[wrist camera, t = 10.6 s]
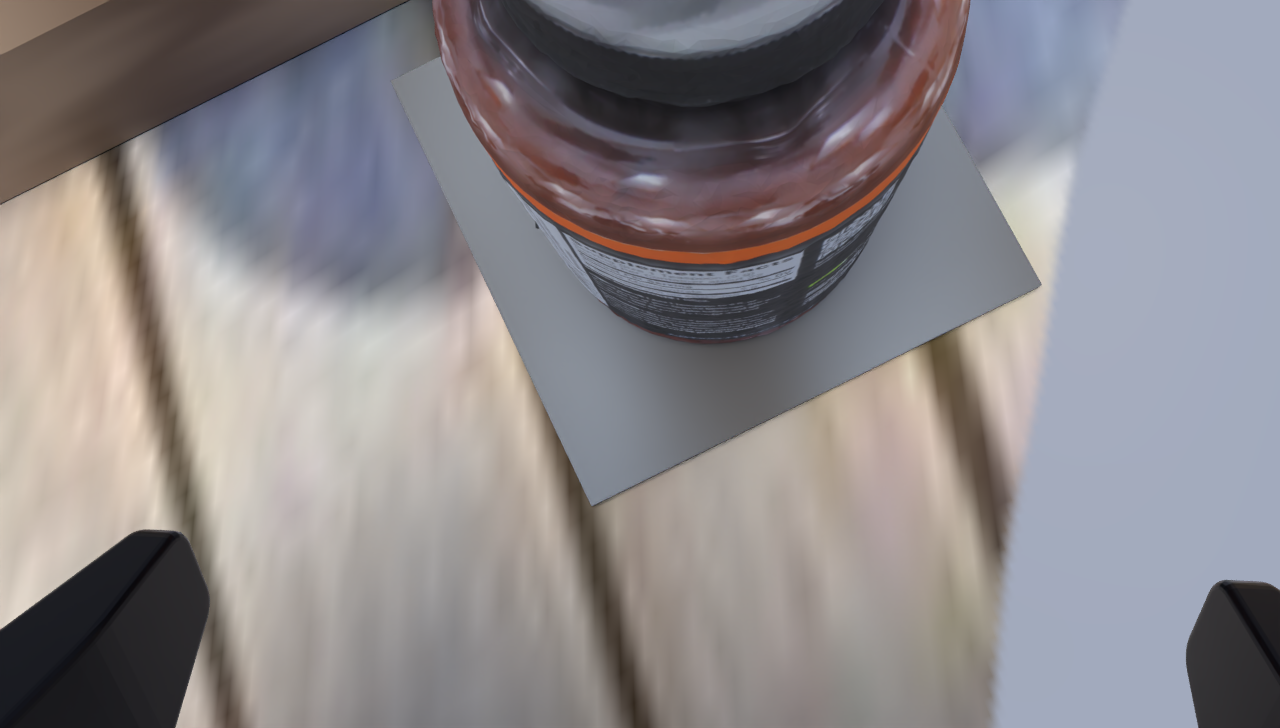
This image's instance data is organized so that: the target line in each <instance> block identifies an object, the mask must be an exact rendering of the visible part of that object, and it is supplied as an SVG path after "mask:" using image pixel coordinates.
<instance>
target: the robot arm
mask: <svg viewBox="0 0 1280 728" xmlns="http://www.w3.org/2000/svg"><path fill="white" fill-rule="evenodd" d="M209 607H210V597H209V591H208V587H207V585H206V582H205V580H204V577H203V575H202V572H201V570H200V567H199V565H198V562H197V560H196V557H195V555H194V552H193V550H192V547H191V545H190V542H189V540H188V539H187V537H186V536H184V535H183V534H182V533H181V532H178V531H167V530H139V531H136V532H133V533H131V534H130V535H128V536H127V537H125V538H124V539H123V540H121V541H120V542H118V543H117V544H116V545H114V546H113V547H112V548H110V549H109V550H108V551H106V552H105V553H104V554H102V555H101V556H100V557H98V558H97V559H95V560H94V561H93V562H91V563H90V564H89V565H87V566H86V567H85V568H83V569H82V570H81V571H79V572H78V573H77V574H75V575H74V576H72V577H71V578H70V579H68V580H67V581H66V582H64V583H63V584H62V585H60V586H59V587H58V588H56V589H55V590H53V591H52V592H51V593H49V594H48V595H47V596H45V597H44V598H43V599H41V600H40V601H39V602H37V603H36V604H35V605H33V606H32V607H30V608H29V609H28V610H26V611H25V612H24V613H22V614H21V615H20V616H18V617H17V618H16V619H14V620H13V621H12V622H10V623H9V624H7V625H6V626H5V627H3V628H2V629H1V630H0V728H175V727H176V724H177V720H178V717H179V713H180V710H181V707H182V703H183V700H184V697H185V693H186V690H187V686H188V683H189V680H190V676H191V673H192V669H193V666H194V663H195V659H196V656H197V652H198V649H199V646H200V642H201V639H202V635H203V632H204V629H205V625H206V622H207V618H208V614H209ZM1186 665H1187V672H1188V677H1189V682H1190V687H1191V692H1192V697H1193V702H1194V707H1195V713H1196V718H1197V722H1198V728H1280V590H1279V589H1277V588H1276V587H1274V586H1272V585H1271V584H1268V583H1264V582H1256V581H1235V580H1234V581H1233V580H1223V581H1219V582H1218V583H1216V584H1215V585H1214V586H1213V587H1212V588H1211V590H1210V592H1209V594H1208V596H1207V599H1206V601H1205V603H1204V605H1203V608H1202V610H1201V612H1200V614H1199V617H1198V619H1197V621H1196V624H1195V626H1194V628H1193V630H1192V633H1191V635H1190V637H1189V640H1188V643H1187V649H1186Z"/></svg>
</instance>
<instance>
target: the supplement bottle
mask: <svg viewBox="0 0 1280 728" xmlns="http://www.w3.org/2000/svg"><path fill="white" fill-rule="evenodd" d="M432 5H433V16H434V21H435V35H436V38H437V41H438V46H439V50H440V55H441V60H442V63H443V65H444V67H445V70H446V72H447V75H448V77H449V80H450V82H451V85H452V88H453V91H454V93H455V96H456V98H457V101H458V103H459V105H460V107H461V109H462V111H463V114H464V116H465V118H466V119H467V121H468V123H469V125H470V126H471V128H472V130H473V132H474V133H475V135H476V137H477V138H478V140H479V141H480V143H481V144H482V145H483V147H484V148H485V150H486V151H487V152H488V154H489V155H490V157H491V158H492V160H493V162H494V164H495V166H496V167H497V169H498V170H499V172H500V174H501V176H502V178H503V179H504V180H505V181H506V183H507V184H508V185H509V187H510V188H511V189H512V191H513V192H514V193H515V194H516V196H517V197H518V198H519V200H520V201H521V202H522V204H523V206H524V207H525V209H526V210H527V211H528V213H529V214H530V215H531V217H532V218H533V219H534V220H535V228H537V229H539V228H540V229H541V230H542V231H543V233H544V234H545V236H546V237H547V238H548V240H549V241H550V242H551V244H552V245H553V247H554V248H555V249H556V251H557V252H558V254H559V256H560V257H561V258H562V259H563V260H564V262H565V263H566V265H567V266H568V268H569V269H570V270H571V271H572V272H573V273H574V275H575V276H576V277H577V278H578V279H579V281H580V282H581V283H582V284H583V285H584V286H585V287H586V288H587V289H588V290H589V291H590V292H591V293H592V294H593V295H594V296H595V297H596V298H597V299H598V300H599V301H600V302H601V303H603V304H604V305H605V306H607V307H608V308H609V309H610V310H611V311H612V312H613V313H614V314H616V315H617V316H619V317H621V318H623V319H624V320H625V321H627V322H628V323H630V324H632V325H634V326H636V327H638V328H640V329H642V330H644V331H647V332H649V333H652V334H655V335H658V336H662V337H666V338H669V339H673V340H677V341H684V342H689V343H699V344H713V343H727V342H735V341H741V340H747V339H750V338H754V337H757V336H761V335H767V334H769V333H771V332H774V331H776V330H778V329H779V328H781V327H783V326H785V325H787V324H789V323H791V322H793V321H795V320H796V319H798V318H799V317H801V316H802V315H804V314H805V313H806V312H808V311H810V310H811V309H813V308H814V307H815V306H816V305H818V304H819V303H820V301H822V300H823V299H824V298H825V297H826V296H827V295H828V294H829V293H830V292H831V291H832V290H833V289H834V288H835V287H836V286H837V285H838V284H839V282H840V281H841V280H842V279H844V278H845V276H846V275H847V273H848V272H849V270H850V269H851V267H852V266H853V265H854V263H855V262H856V261H857V259H858V257H859V256H860V254H861V253H862V251H863V250H864V248H865V246H866V245H867V243H868V241H869V238H870V236H871V235H872V233H873V231H874V229H875V227H876V225H877V224H878V222H879V220H880V218H881V217H882V215H883V213H884V212H885V210H886V209H887V207H888V205H889V203H890V201H891V200H892V198H893V196H894V194H895V192H896V190H897V188H898V186H899V185H900V183H901V181H902V180H903V178H904V176H905V175H906V172H907V170H908V168H909V167H910V165H911V163H912V161H913V159H914V158H915V157H916V155H917V154H918V152H919V150H920V148H921V146H922V144H923V142H924V140H925V138H926V136H927V134H928V132H929V130H930V128H931V126H932V124H933V121H934V119H935V117H936V115H937V113H938V111H939V110H940V108H941V106H942V104H943V102H944V100H945V98H946V95H947V93H948V90H949V88H950V85H951V83H952V80H953V78H954V75H955V73H956V70H957V67H958V64H959V60H960V55H961V51H962V46H963V42H964V37H965V32H966V26H967V21H968V15H969V8H970V0H432Z"/></svg>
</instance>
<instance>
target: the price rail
mask: <svg viewBox="0 0 1280 728" xmlns="http://www.w3.org/2000/svg"><path fill="white" fill-rule="evenodd" d="M406 1H408V0H0V204H1V203H3V202H5V201H7V200H9V199H11V198H13V197H15V196H17V195H19V194H21V193H23V192H25V191H27V190H29V189H31V188H33V187H35V186H37V185H39V184H41V183H43V182H45V181H47V180H49V179H51V178H53V177H55V176H57V175H59V174H61V173H63V172H65V171H67V170H69V169H71V168H73V167H75V166H77V165H79V164H81V163H83V162H85V161H87V160H89V159H91V158H93V157H95V156H97V155H99V154H101V153H103V152H105V151H107V150H109V149H111V148H113V147H115V146H117V145H119V144H121V143H123V142H125V141H127V140H129V139H131V138H133V137H135V136H137V135H139V134H141V133H143V132H145V131H147V130H149V129H151V128H153V127H155V126H157V125H159V124H161V123H163V122H165V121H167V120H169V119H171V118H173V117H175V116H177V115H179V114H181V113H183V112H185V111H187V110H189V109H191V108H193V107H195V106H197V105H199V104H201V103H203V102H205V101H207V100H209V99H211V98H213V97H215V96H217V95H219V94H221V93H223V92H225V91H227V90H229V89H231V88H233V87H235V86H237V85H239V84H241V83H243V82H245V81H247V80H249V79H251V78H253V77H255V76H257V75H259V74H261V73H263V72H265V71H267V70H269V69H271V68H273V67H275V66H277V65H279V64H281V63H283V62H285V61H287V60H289V59H291V58H293V57H295V56H297V55H299V54H301V53H303V52H305V51H307V50H309V49H311V48H313V47H315V46H317V45H319V44H321V43H323V42H325V41H327V40H329V39H331V38H333V37H335V36H337V35H339V34H341V33H343V32H345V31H347V30H349V29H351V28H353V27H355V26H357V25H359V24H361V23H363V22H365V21H367V20H369V19H371V18H373V17H375V16H377V15H379V14H381V13H383V12H385V11H387V10H389V9H391V8H393V7H395V6H398V5H400V4H402V3H404V2H406ZM391 83H392V85H393V87H394V89H395V91H396V94H397V96H398V98H399V100H400V102H401V104H402V106H403V108H404V110H405V113H406V115H407V117H408V119H409V121H410V123H411V125H412V127H413V130H414V132H415V134H416V136H417V138H418V140H419V142H420V144H421V146H422V149H423V151H424V153H425V155H426V157H427V159H428V161H429V163H430V165H431V168H432V170H433V172H434V174H435V176H436V178H437V180H438V182H439V185H440V187H441V189H442V191H443V193H444V195H445V197H446V199H447V201H448V204H449V206H450V208H451V210H452V212H453V214H454V216H455V218H456V221H457V223H458V225H459V227H460V229H461V231H462V233H463V235H464V237H465V240H466V242H467V244H468V246H469V248H470V250H471V252H472V254H473V256H474V259H475V261H476V263H477V265H478V267H479V269H480V271H481V273H482V276H483V278H484V280H485V282H486V284H487V286H488V288H489V290H490V292H491V295H492V297H493V299H494V301H495V303H496V305H497V307H498V309H499V311H500V314H501V316H502V318H503V320H504V322H505V324H506V326H507V328H508V331H509V333H510V335H511V337H512V339H513V341H514V343H515V345H516V347H517V350H518V352H519V354H520V356H521V358H522V360H523V362H524V364H525V366H526V369H527V371H528V373H529V375H530V377H531V379H532V381H533V383H534V386H535V388H536V390H537V392H538V394H539V396H540V398H541V400H542V402H543V405H544V407H545V409H546V411H547V413H548V415H549V417H550V419H551V422H552V424H553V426H554V428H555V430H556V432H557V434H558V436H559V438H560V441H561V443H562V445H563V447H564V449H565V451H566V453H567V455H568V457H569V460H570V462H571V464H572V466H573V468H574V470H575V472H576V474H577V477H578V479H579V481H580V483H581V485H582V487H583V489H584V491H585V493H586V496H587V498H588V500H589V502H590V504H591V506H594V505H596V504H598V503H600V502H602V501H604V500H606V499H608V498H610V497H612V496H614V495H616V494H618V493H620V492H622V491H625V490H627V489H629V488H631V487H633V486H635V485H637V484H639V483H641V482H643V481H645V480H647V479H649V478H651V477H653V476H655V475H657V474H659V473H661V472H663V471H665V470H667V469H669V468H671V467H673V466H675V465H678V464H680V463H682V462H684V461H686V460H688V459H690V458H692V457H694V456H696V455H698V454H700V453H702V452H704V451H706V450H708V449H710V448H712V447H714V446H716V445H718V444H720V443H722V442H724V441H726V440H728V439H730V438H733V437H735V436H737V435H739V434H741V433H743V432H745V431H747V430H749V429H751V428H753V427H755V426H757V425H759V424H761V423H763V422H765V421H767V420H769V419H771V418H773V417H775V416H777V415H779V414H781V413H783V412H785V411H788V410H790V409H792V408H794V407H796V406H798V405H800V404H802V403H804V402H806V401H808V400H810V399H812V398H814V397H816V396H818V395H820V394H822V393H824V392H826V391H828V390H830V389H832V388H834V387H836V386H838V385H840V384H843V383H845V382H847V381H849V380H851V379H853V378H855V377H857V376H859V375H861V374H863V373H865V372H867V371H869V370H871V369H873V368H875V367H877V366H879V365H881V364H883V363H885V362H887V361H889V360H891V359H893V358H896V357H898V356H900V355H902V354H904V353H906V352H908V351H910V350H912V349H914V348H916V347H918V346H920V345H922V344H924V343H926V342H928V341H930V340H932V339H934V338H936V337H938V336H940V335H942V334H944V333H946V332H948V331H951V330H953V329H955V328H957V327H959V326H961V325H963V324H965V323H967V322H969V321H971V320H973V319H975V318H977V317H979V316H981V315H983V314H985V313H987V312H989V311H991V310H993V309H995V308H997V307H999V306H1001V305H1003V304H1006V303H1008V302H1010V301H1012V300H1014V299H1016V298H1018V297H1020V296H1022V295H1024V294H1026V293H1028V292H1030V291H1032V290H1034V289H1036V288H1038V287H1039V286H1041V285H1042V284H1041V282H1040V280H1039V279H1038V277H1037V275H1036V273H1035V271H1034V270H1033V268H1032V266H1031V264H1030V262H1029V261H1028V259H1027V257H1026V255H1025V253H1024V252H1023V250H1022V248H1021V246H1020V244H1019V243H1018V241H1017V239H1016V237H1015V235H1014V234H1013V232H1012V230H1011V228H1010V227H1009V225H1008V223H1007V221H1006V219H1005V218H1004V216H1003V214H1002V212H1001V210H1000V209H999V207H998V205H997V203H996V201H995V200H994V198H993V196H992V194H991V192H990V191H989V189H988V187H987V185H986V183H985V182H984V180H983V178H982V176H981V174H980V173H979V171H978V169H977V167H976V165H975V164H974V162H973V160H972V158H971V156H970V155H969V153H968V151H967V149H966V148H965V146H964V144H963V142H962V140H961V139H960V137H959V135H958V133H957V131H956V130H955V128H954V126H953V124H952V122H951V121H950V119H949V117H948V115H947V113H946V112H945V110H944V108H943V106H941V108H940V110H939V111H938V113H937V115H936V117H935V119H934V121H933V124H932V126H931V128H930V130H929V132H928V134H927V136H926V138H925V140H924V142H923V144H922V146H921V148H920V150H919V152H918V154H917V155H916V157H915V158H914V159H913V161H912V163H911V165H910V167H909V168H908V170H907V172H906V175H905V176H904V178H903V180H902V181H901V183H900V185H899V186H898V188H897V190H896V192H895V194H894V196H893V198H892V200H891V201H890V203H889V205H888V207H887V209H886V210H885V212H884V213H883V215H882V217H881V218H880V220H879V222H878V224H877V225H876V227H875V229H874V231H873V233H872V235H871V236H870V238H869V241H868V243H867V245H866V246H865V248H864V250H863V251H862V253H861V254H860V256H859V257H858V259H857V261H856V262H855V263H854V265H853V266H852V267H851V269H850V270H849V272H848V273H847V275H846V276H845V278H844V279H842V280H841V281H840V282H839V284H838V285H837V286H836V287H835V288H834V289H833V290H832V291H831V292H830V293H829V294H828V295H827V296H826V297H825V298H824V299H823V300H822V301H820V303H819V304H818V305H816V306H815V307H814V308H813V309H811V310H810V311H808V312H806V313H805V314H804V315H802V316H801V317H799V318H798V319H796V320H795V321H793V322H791V323H789V324H787V325H785V326H783V327H781V328H779V329H778V330H776V331H774V332H771V333H769V334H767V335H761V336H757V337H754V338H750V339H747V340H741V341H735V342H727V343H713V344H699V343H689V342H684V341H677V340H673V339H669V338H666V337H662V336H658V335H655V334H652V333H649V332H647V331H644V330H642V329H640V328H638V327H636V326H634V325H632V324H630V323H628V322H627V321H625V320H624V319H623V318H621V317H619V316H617V315H616V314H614V313H613V312H612V311H611V310H610V309H609V308H608V307H607V306H605V305H604V304H603V303H601V302H600V301H599V300H598V299H597V298H596V297H595V296H594V295H593V294H592V293H591V292H590V291H589V290H588V289H587V288H586V287H585V286H584V285H583V284H582V283H581V282H580V281H579V279H578V278H577V277H576V276H575V275H574V273H573V272H572V271H571V270H570V269H569V268H568V266H567V265H566V263H565V262H564V260H563V259H562V258H561V257H560V256H559V254H558V252H557V251H556V249H555V248H554V247H553V245H552V244H551V242H550V241H549V240H548V238H547V237H546V236H545V234H544V233H543V231H542V230H541V229H540V228H539V229H537V228H535V220H534V219H533V218H532V217H531V215H530V214H529V213H528V211H527V210H526V209H525V207H524V206H523V204H522V202H521V201H520V200H519V198H518V197H517V196H516V194H515V193H514V192H513V191H512V189H511V188H510V187H509V185H508V184H507V183H506V181H505V180H504V179H503V178H502V176H501V174H500V172H499V170H498V169H497V167H496V166H495V164H494V162H493V160H492V158H491V157H490V155H489V154H488V152H487V151H486V150H485V148H484V147H483V145H482V144H481V143H480V141H479V140H478V138H477V137H476V135H475V133H474V132H473V130H472V128H471V126H470V125H469V123H468V121H467V119H466V118H465V116H464V114H463V111H462V109H461V107H460V105H459V103H458V101H457V98H456V96H455V93H454V91H453V88H452V85H451V82H450V80H449V77H448V75H447V72H446V70H445V67H444V65H443V63H442V60H441V56H440V57H438V58H436V59H434V60H432V61H430V62H428V63H426V64H424V65H422V66H420V67H418V68H416V69H414V70H412V71H410V72H407V73H405V74H403V75H401V76H399V77H397V78H395V79H393V80H391Z"/></svg>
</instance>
